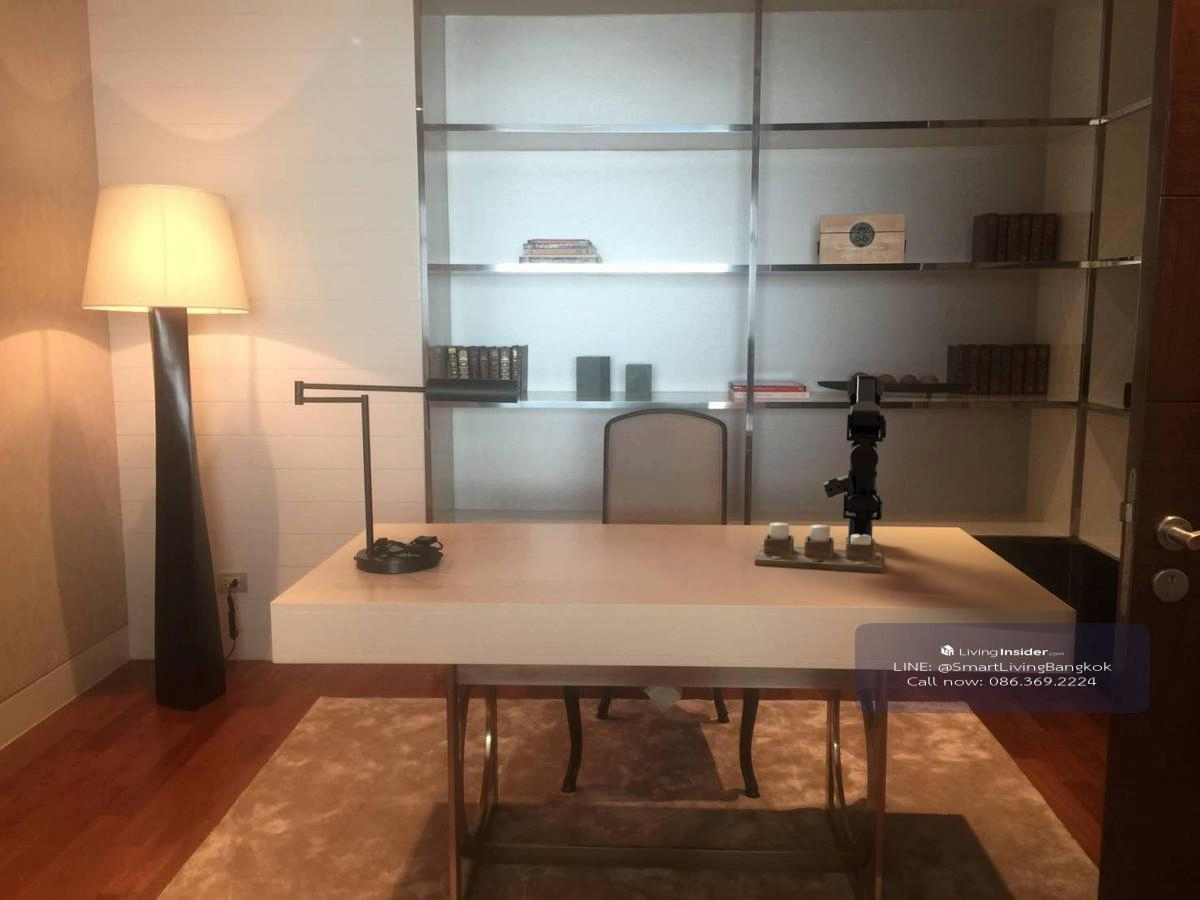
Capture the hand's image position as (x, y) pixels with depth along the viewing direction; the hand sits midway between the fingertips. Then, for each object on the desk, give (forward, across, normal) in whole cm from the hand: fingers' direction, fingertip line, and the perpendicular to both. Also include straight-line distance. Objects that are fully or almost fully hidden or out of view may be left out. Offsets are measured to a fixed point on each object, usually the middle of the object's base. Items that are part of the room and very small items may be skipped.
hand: (861, 534), depth 210 cm
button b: (+3, 0, -9) cm, 9 cm away
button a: (+4, 0, 0) cm, 4 cm away
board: (+6, +2, -9) cm, 11 cm away
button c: (+3, 0, -18) cm, 18 cm away
